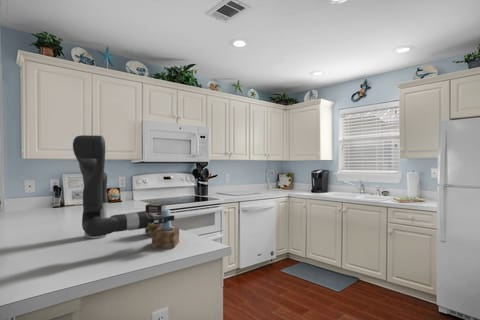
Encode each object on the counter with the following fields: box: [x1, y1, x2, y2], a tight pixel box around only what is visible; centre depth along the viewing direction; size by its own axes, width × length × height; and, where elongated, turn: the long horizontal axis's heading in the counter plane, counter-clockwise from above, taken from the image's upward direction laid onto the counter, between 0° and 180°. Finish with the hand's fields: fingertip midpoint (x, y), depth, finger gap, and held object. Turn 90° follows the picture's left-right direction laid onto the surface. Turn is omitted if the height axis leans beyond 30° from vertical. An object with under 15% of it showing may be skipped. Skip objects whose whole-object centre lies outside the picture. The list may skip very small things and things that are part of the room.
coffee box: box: [144, 203, 166, 237], centre depth 150 cm, size 9×6×16 cm
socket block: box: [151, 226, 180, 249], centre depth 131 cm, size 10×10×7 cm
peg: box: [161, 209, 171, 231], centre depth 131 cm, size 4×4×14 cm
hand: (169, 216), depth 132 cm, fingers open, 8 cm apart
